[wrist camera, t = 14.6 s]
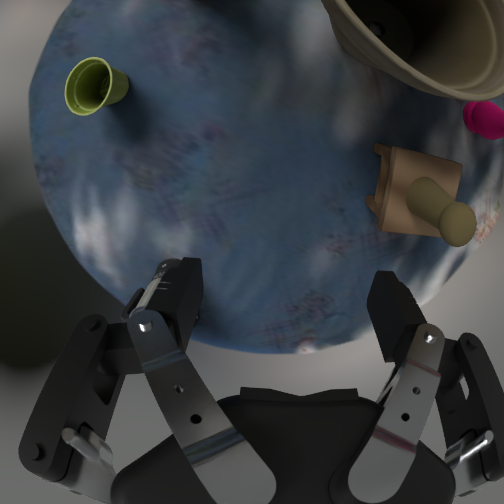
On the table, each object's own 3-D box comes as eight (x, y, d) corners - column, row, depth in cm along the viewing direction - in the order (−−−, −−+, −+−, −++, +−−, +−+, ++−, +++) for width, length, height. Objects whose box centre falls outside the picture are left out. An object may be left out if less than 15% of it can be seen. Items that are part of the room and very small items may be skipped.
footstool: (371, 138, 38) (397, 147, 30) (430, 151, 38) (462, 164, 29) (361, 206, 44) (381, 231, 36) (418, 213, 44) (444, 237, 35)
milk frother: (177, 249, 51) (149, 298, 38) (230, 303, 57) (218, 358, 44) (135, 281, 56) (106, 328, 43) (184, 327, 62) (167, 377, 49)
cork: (429, 168, 30) (476, 195, 21) (444, 201, 32) (487, 235, 23) (399, 192, 33) (438, 226, 23) (416, 224, 34) (453, 264, 25)
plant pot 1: (109, 55, 33) (81, 50, 25) (147, 72, 35) (122, 68, 27) (87, 100, 37) (57, 103, 29) (122, 119, 39) (94, 125, 32)
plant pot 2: (265, 36, 32) (259, -24, 13) (342, -47, 20) (377, -110, 2) (393, 127, 37) (476, 152, 18) (453, 40, 26) (534, 30, 7)
